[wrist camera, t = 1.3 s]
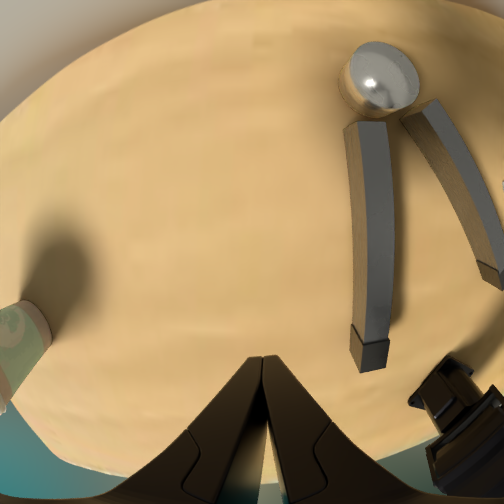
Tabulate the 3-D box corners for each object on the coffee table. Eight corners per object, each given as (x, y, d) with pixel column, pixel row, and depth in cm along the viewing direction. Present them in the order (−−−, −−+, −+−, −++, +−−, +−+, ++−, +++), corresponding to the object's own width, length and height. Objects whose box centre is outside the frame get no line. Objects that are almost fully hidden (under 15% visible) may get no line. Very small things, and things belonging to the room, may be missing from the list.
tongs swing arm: (328, 58, 14) (340, 38, 11) (390, 63, 14) (410, 47, 11) (349, 349, 20) (360, 375, 17) (402, 339, 19) (418, 361, 16)
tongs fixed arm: (398, 120, 16) (420, 111, 13) (414, 106, 15) (437, 97, 12) (482, 279, 18) (503, 291, 15) (494, 264, 18) (515, 275, 15)
